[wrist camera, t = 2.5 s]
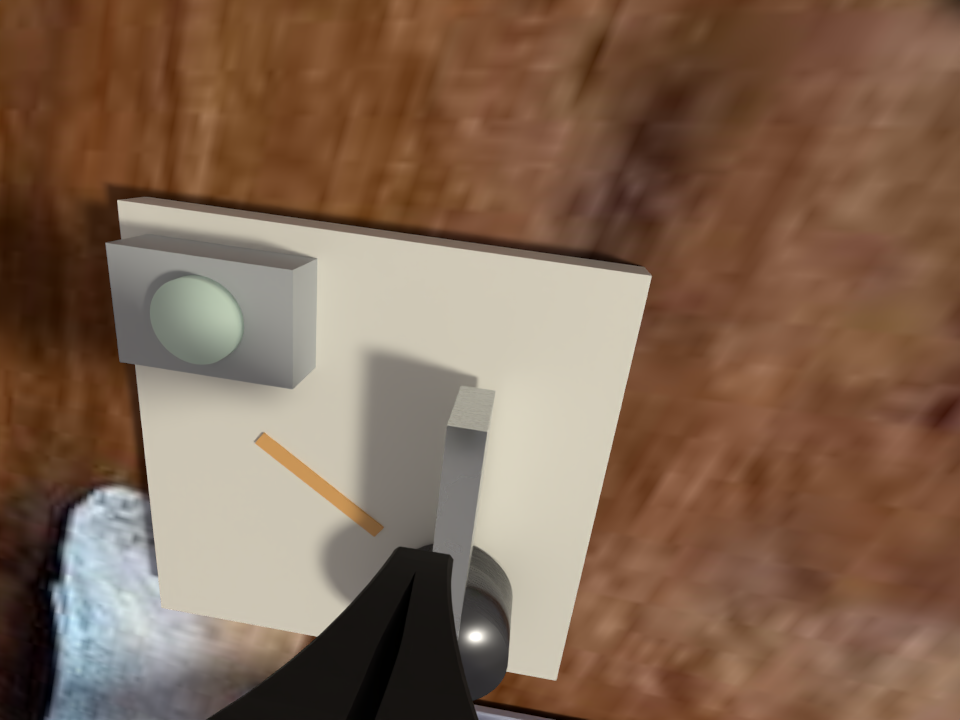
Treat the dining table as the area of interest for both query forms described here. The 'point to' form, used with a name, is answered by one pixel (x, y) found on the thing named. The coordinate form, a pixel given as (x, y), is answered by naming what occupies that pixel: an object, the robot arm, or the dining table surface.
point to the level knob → (474, 574)
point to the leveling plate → (362, 407)
